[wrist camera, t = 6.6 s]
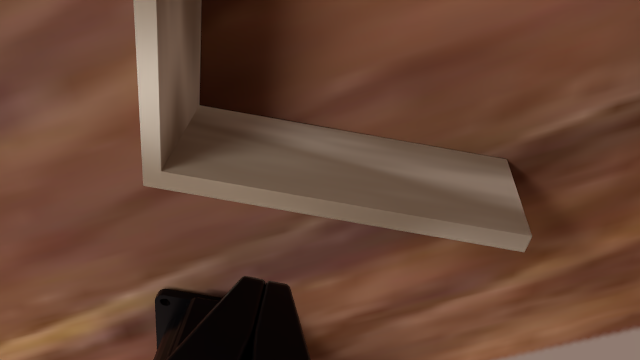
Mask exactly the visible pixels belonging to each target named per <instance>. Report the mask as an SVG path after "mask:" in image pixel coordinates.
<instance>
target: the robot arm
mask: <svg viewBox="0 0 640 360" xmlns="http://www.w3.org/2000/svg"><path fill="white" fill-rule="evenodd" d="M155 312H156V335H157V352H156V354H155V357H154V359H153V360H311V359H310V356H309V352H308V349H307V345H306V342H305V338H304V335H303V331H302V328H301V324H300V321H299V317H298V314H297V310H296V307H295V303H294V300H293V296H292V292H291V289H290V287H289V286H288V285H287V284H283V283H278V282H273V281H268V282H267V283H266V285H265V281H264V280H263V279H258V278H253V277H248V276H244V277H242V278H241V279H240V280H239V281H238V282H237V283H236V284H235V285H234V286H233V288H232V289H231V290H230V291H229V292H228V293H227V294H226V295H225V296H224V297H223V298H222V299H221V298H215V297H209V296H204V295H198V294H192V293H186V292H181V291H175V290H169V289H162V290H160V291H159V292H158V294H157V296H156V299H155Z"/></svg>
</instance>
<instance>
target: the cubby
mask: <svg viewBox="0 0 640 360" xmlns="http://www.w3.org/2000/svg"><path fill="white" fill-rule="evenodd" d="M201 6H202V0H134V18H135V37H136V56H137V75H138V94H139V113H140V132H141V151H142V170H143V186H149V187H154V188H160V189H166V190H171V191H177V192H183V193H189V194H194V195H200V196H206V197H211V198H217V199H223V200H229V201H234V202H240V203H246V204H251V205H257V206H263V207H269V208H274V209H280V210H286V211H291V212H297V213H303V214H309V215H314V216H320V217H326V218H332V219H337V220H343V221H349V222H354V223H360V224H366V225H372V226H377V227H383V228H389V229H394V230H400V231H406V232H412V233H417V234H423V235H429V236H434V237H440V238H446V239H452V240H457V241H463V242H469V243H474V244H480V245H486V246H492V247H497V248H503V249H509V250H514V251H520V252H525V250H526V248H527V246H528V244H529V242H530V240H531V238H532V234H531V231H530V228H529V225H528V222H527V219H526V216H525V213H524V210H523V207H522V204H521V201H520V198H519V195H518V192H517V189H516V186H515V183H514V180H513V177H512V174H511V171H510V168H509V165H508V161H507V159H502V158H496V157H490V156H485V155H479V154H473V153H468V152H462V151H456V150H451V149H445V148H439V147H434V146H428V145H422V144H417V143H411V142H405V141H400V140H394V139H388V138H383V137H377V136H371V135H366V134H360V133H354V132H349V131H343V130H337V129H332V128H326V127H320V126H314V125H309V124H303V123H297V122H292V121H286V120H280V119H275V118H269V117H263V116H258V115H252V114H246V113H241V112H235V111H229V110H224V109H218V108H212V107H207V106H201V105H200V56H201Z"/></svg>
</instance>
